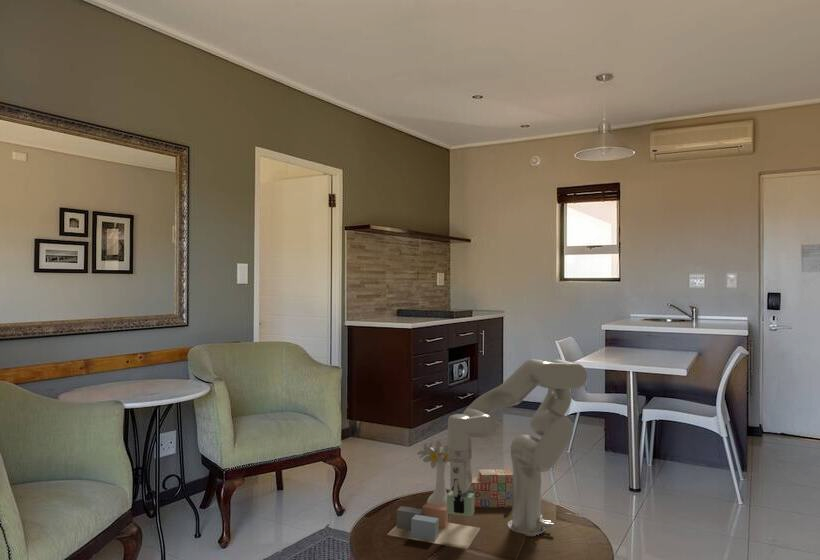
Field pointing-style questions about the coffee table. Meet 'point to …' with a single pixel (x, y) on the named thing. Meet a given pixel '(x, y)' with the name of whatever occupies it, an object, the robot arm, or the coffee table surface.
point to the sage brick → (468, 504)
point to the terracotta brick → (436, 513)
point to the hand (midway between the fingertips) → (460, 509)
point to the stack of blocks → (492, 488)
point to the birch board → (445, 535)
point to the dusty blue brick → (425, 528)
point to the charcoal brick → (406, 516)
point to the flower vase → (437, 470)
